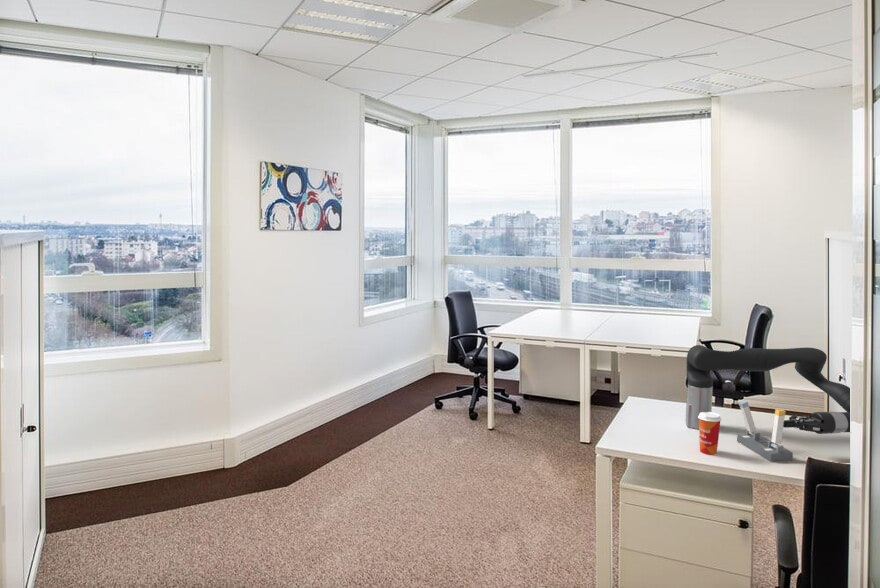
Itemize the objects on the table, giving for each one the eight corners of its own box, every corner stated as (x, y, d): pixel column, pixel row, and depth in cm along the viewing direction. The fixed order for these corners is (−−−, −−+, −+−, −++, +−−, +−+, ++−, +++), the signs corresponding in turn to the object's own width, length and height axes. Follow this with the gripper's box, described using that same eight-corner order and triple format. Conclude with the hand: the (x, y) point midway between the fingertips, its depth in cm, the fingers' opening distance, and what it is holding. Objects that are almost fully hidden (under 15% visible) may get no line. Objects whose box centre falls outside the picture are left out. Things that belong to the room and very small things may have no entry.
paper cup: (692, 448, 216) (694, 411, 214) (712, 447, 217) (714, 410, 215) (703, 456, 208) (705, 418, 207) (724, 455, 209) (726, 417, 207)
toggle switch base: (770, 462, 203) (771, 447, 202) (736, 441, 223) (737, 428, 222) (792, 461, 203) (793, 446, 203) (756, 440, 223) (757, 427, 223)
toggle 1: (753, 438, 217) (742, 404, 216) (747, 434, 221) (737, 401, 219) (759, 435, 218) (748, 402, 216) (753, 432, 221) (743, 399, 219)
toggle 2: (775, 450, 204) (780, 411, 203) (769, 446, 208) (774, 408, 206) (781, 450, 205) (786, 411, 203) (775, 446, 208) (780, 408, 207)
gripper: (842, 439, 200) (794, 441, 199) (814, 426, 214) (769, 427, 212) (844, 418, 200) (796, 419, 198) (815, 406, 213) (770, 407, 211)
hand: (782, 423), depth 205 cm, fingers closed
